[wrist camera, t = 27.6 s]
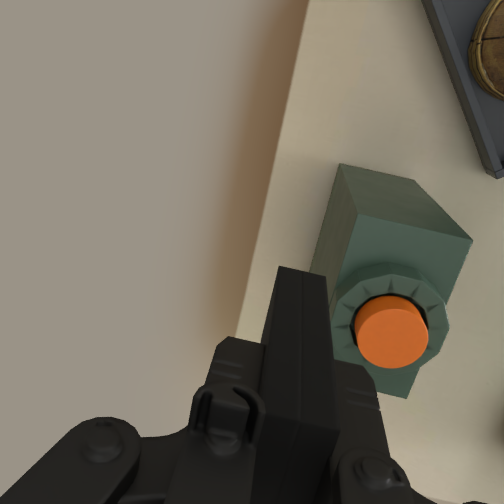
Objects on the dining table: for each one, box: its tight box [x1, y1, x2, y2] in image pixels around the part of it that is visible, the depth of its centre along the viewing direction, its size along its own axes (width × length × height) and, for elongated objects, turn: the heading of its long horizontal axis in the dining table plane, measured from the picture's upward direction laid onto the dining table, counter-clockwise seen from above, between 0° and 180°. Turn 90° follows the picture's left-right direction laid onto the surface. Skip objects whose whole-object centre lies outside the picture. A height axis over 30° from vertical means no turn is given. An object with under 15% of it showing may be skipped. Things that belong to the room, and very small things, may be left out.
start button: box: [354, 295, 428, 368], centre depth 28 cm, size 4×4×2 cm
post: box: [309, 163, 473, 399], centre depth 36 cm, size 12×7×18 cm, turn 168°
